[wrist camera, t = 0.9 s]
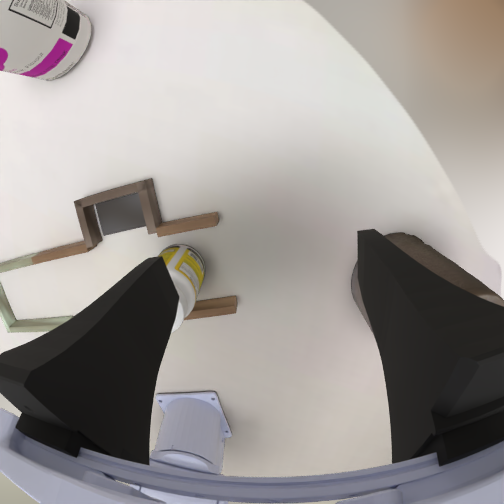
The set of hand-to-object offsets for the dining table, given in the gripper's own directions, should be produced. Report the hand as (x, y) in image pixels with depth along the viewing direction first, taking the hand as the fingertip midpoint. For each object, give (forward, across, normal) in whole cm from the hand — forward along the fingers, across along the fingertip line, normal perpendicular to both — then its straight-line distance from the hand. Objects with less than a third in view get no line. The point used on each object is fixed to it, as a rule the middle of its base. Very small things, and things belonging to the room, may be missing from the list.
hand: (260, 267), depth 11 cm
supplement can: (+19, +18, -17) cm, 31 cm away
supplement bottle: (+14, +10, +8) cm, 19 cm away
